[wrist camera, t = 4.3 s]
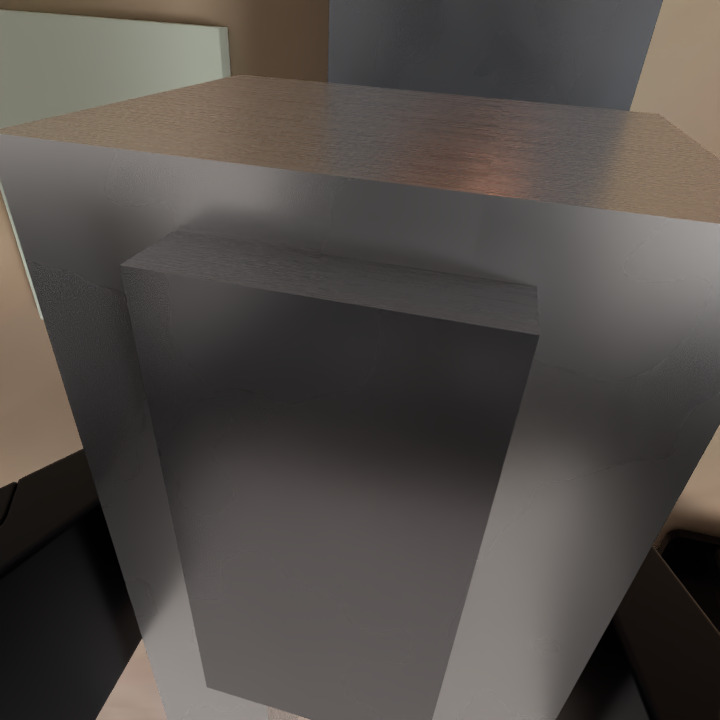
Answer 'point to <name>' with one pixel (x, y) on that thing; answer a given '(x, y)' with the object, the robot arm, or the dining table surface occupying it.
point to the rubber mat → (97, 65)
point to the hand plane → (495, 48)
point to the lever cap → (374, 380)
